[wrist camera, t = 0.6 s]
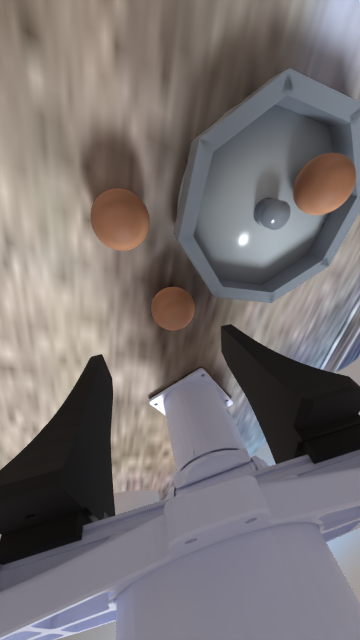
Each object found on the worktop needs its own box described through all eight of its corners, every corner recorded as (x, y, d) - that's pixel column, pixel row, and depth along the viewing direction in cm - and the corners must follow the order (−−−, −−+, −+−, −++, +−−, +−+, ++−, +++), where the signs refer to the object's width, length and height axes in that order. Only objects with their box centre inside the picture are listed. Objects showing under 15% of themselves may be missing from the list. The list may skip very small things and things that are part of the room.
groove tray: (348, 231, 22) (372, 238, 20) (223, 312, 24) (233, 326, 22) (323, 34, 14) (359, 12, 12) (139, 180, 16) (142, 183, 14)
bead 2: (195, 300, 23) (208, 322, 19) (164, 322, 23) (171, 346, 20) (174, 271, 20) (185, 290, 17) (140, 295, 21) (144, 318, 18)
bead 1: (156, 222, 18) (164, 234, 15) (117, 251, 18) (118, 269, 15) (123, 173, 16) (125, 175, 13) (80, 208, 16) (72, 218, 13)
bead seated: (331, 191, 19) (373, 197, 16) (289, 220, 19) (321, 231, 16) (323, 141, 17) (370, 136, 14) (276, 175, 17) (311, 177, 14)
